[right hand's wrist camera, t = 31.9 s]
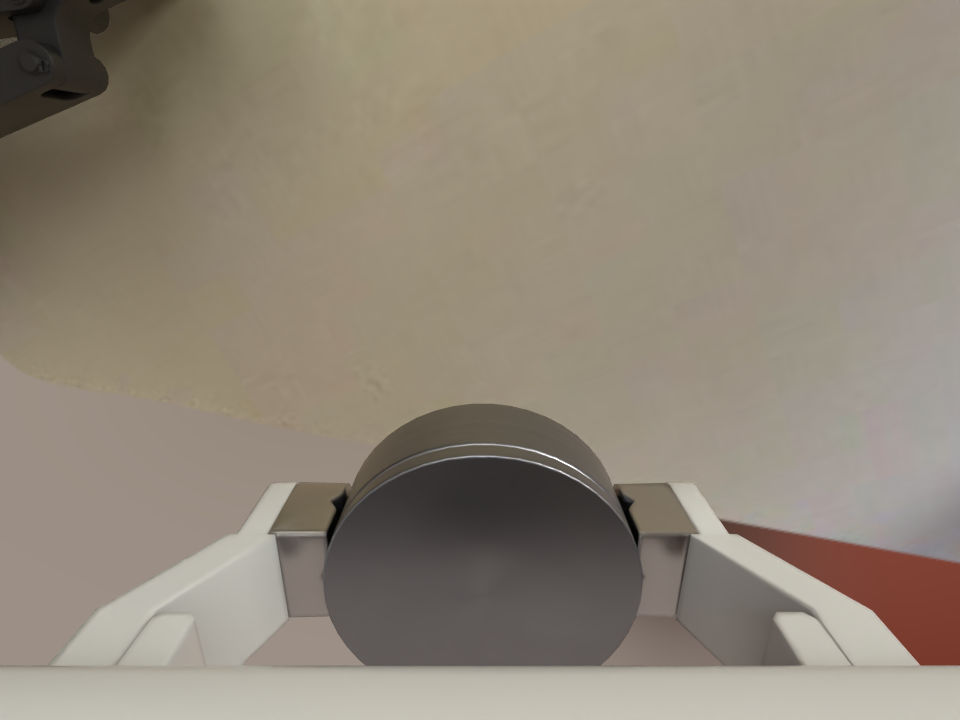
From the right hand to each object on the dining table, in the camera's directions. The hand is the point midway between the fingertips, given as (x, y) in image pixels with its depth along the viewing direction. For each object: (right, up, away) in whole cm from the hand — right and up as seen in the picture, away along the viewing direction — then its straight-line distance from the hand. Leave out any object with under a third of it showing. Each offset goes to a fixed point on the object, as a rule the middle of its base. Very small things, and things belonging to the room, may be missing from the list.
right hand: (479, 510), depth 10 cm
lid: (0, -1, -2) cm, 2 cm away
